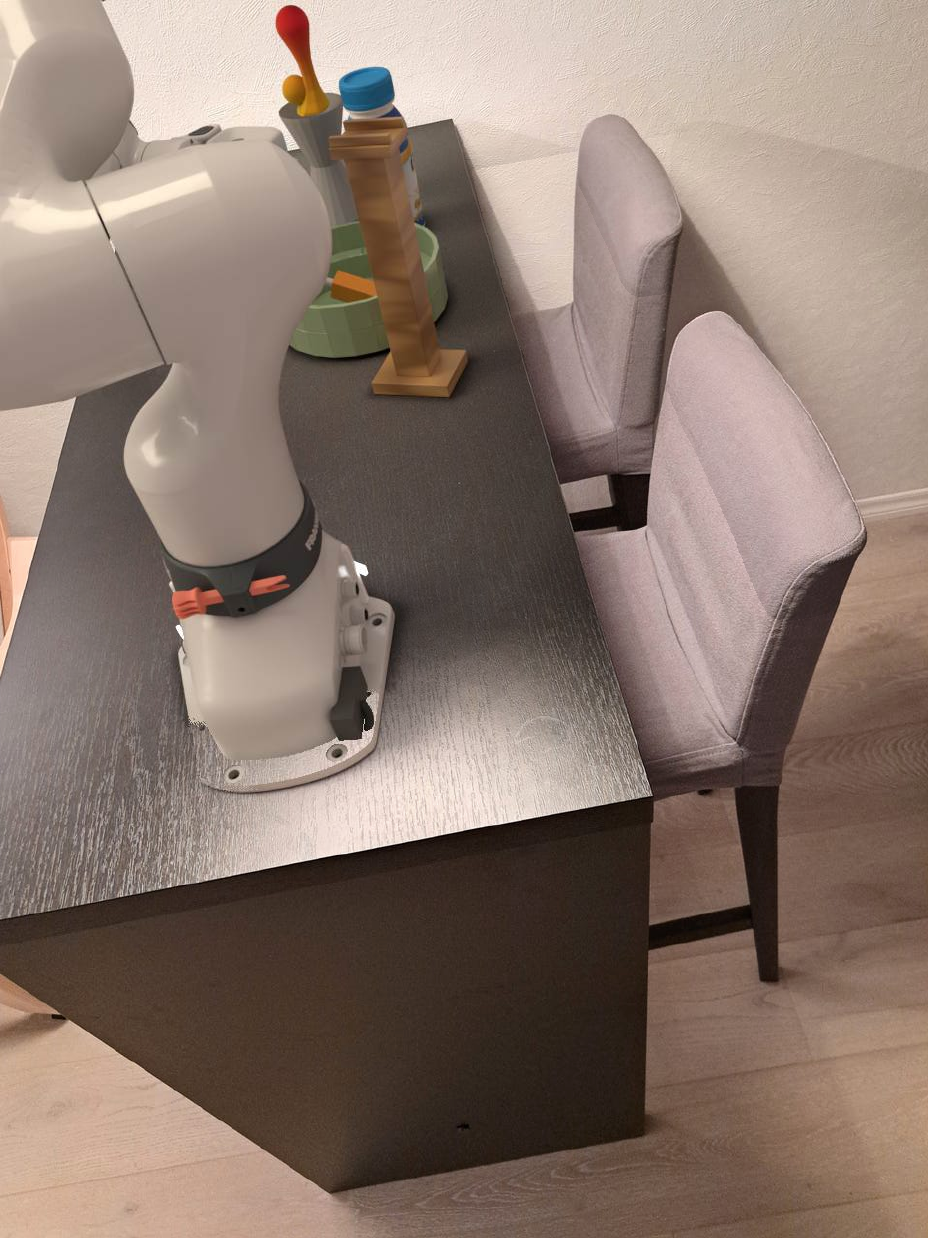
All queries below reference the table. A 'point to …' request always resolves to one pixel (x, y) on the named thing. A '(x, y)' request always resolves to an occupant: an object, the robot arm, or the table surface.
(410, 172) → the beverage bottle
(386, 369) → the shelf stand
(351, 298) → the screwdriver
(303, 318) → the green pet bowl
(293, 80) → the lava lamp
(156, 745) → the table surface
